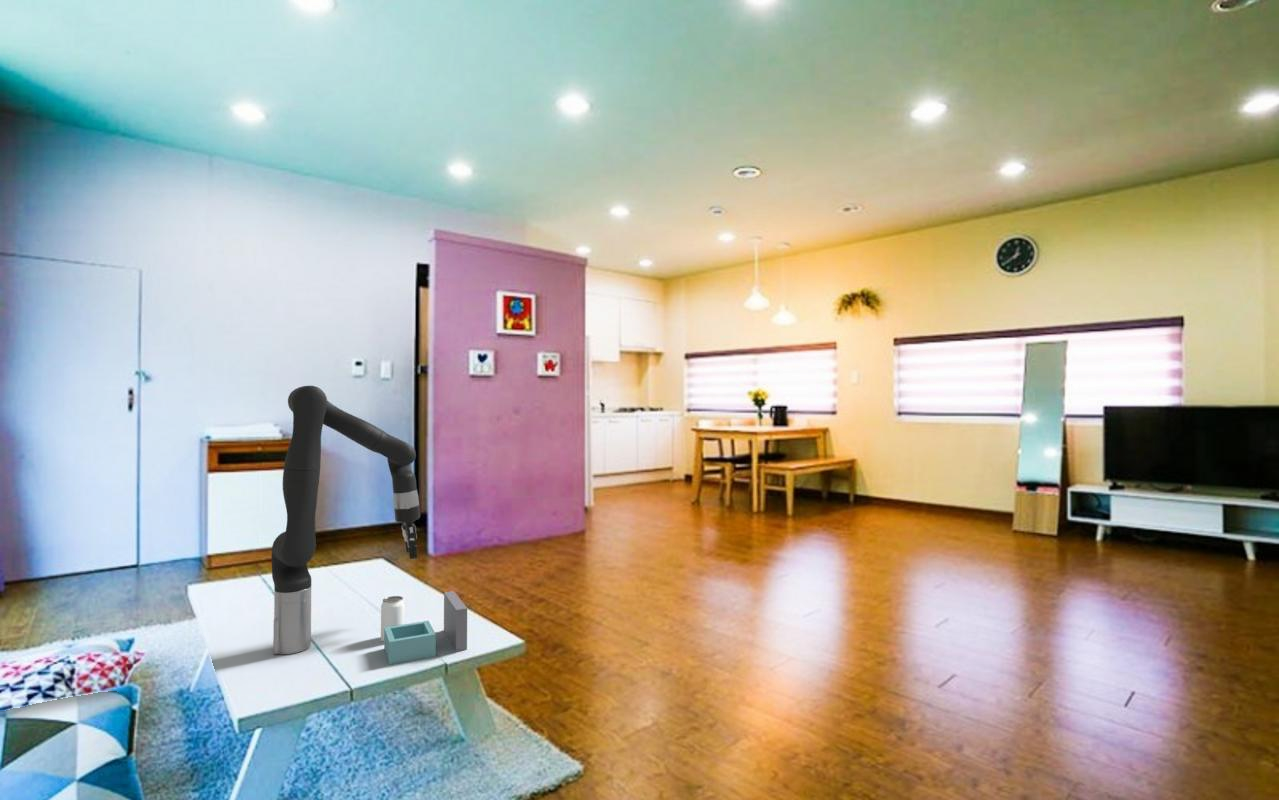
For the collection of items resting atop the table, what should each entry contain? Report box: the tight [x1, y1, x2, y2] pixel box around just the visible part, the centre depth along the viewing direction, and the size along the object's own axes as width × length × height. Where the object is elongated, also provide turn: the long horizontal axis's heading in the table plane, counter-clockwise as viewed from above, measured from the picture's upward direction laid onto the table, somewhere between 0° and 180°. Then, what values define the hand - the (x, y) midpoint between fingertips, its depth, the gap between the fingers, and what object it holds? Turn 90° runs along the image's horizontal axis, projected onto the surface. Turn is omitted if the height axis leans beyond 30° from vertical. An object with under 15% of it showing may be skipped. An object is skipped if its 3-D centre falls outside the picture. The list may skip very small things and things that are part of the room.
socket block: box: [383, 620, 437, 665], centre depth 171 cm, size 12×12×6 cm
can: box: [380, 595, 405, 643], centre depth 181 cm, size 6×6×12 cm
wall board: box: [443, 590, 468, 652], centre depth 181 cm, size 3×18×12 cm, turn 29°
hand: (411, 555), depth 195 cm, fingers open, 8 cm apart
